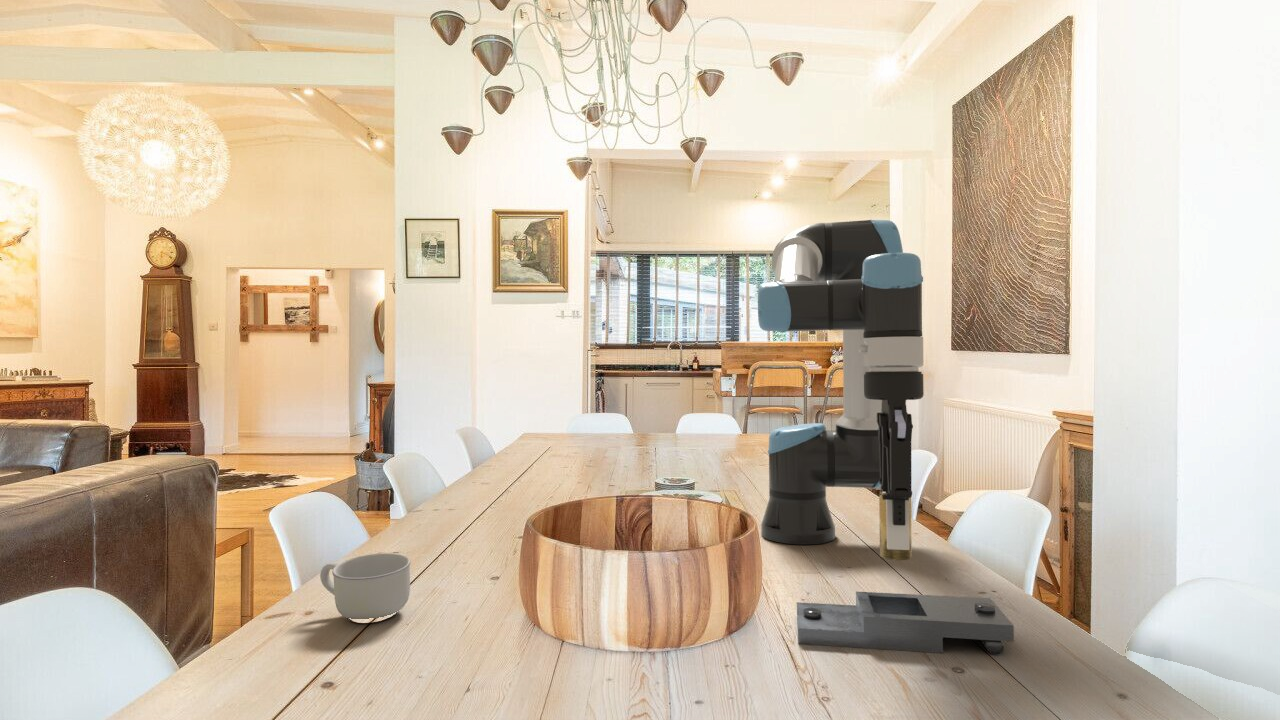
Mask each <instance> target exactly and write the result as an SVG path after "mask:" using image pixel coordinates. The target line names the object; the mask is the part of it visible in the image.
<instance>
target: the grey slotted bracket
mask: <svg viewBox="0 0 1280 720" xmlns="http://www.w3.org/2000/svg"><path fill="white" fill-rule="evenodd" d="M796 623H797V624H796V625H797V626H796V627H797V644H798V645H800V644H801V645H814V646H815V645H816V646H829V647H830V646H831V647H843V648H844V647H845V648H857V649H858V648H861V649H875V650H891V651H903V652H904V651H905V652H918V653H919V652H921V653H922V652H923V653H936V654H937V653H938V654H943V653H944V646H943V645H944V643H943V639H944V638H951V639H967V640H980V641H981V643H982V644H983V645H984V647H985V648H986V650H987V651H988V653H989V654H991V655H994V656H999V655H1002V653H1003V652H1004V650H1005V646H1004V643H1003V642H1015V625H1014V623H1012V622H1011V620H1010V619H1009V617H1007V616H1006V615H1005V613H1004V612H1003V611H1002V610H1001V609H1000V607H999V606H998V605H997V604H996V603H995V602H994V601H993V600H992V598H989V597H971V596H954V595H953V596H952V595H951V596H950V595H934V594H933V595H932V594H929V595H928V594H915V593H914V594H911V593H893V592H891V593H890V592H877V591H876V592H872V591H855V605H853V604H851V605H850V604H837V603H835V604H834V603H833V604H832V603H817V602H815V603H813V602H801V601H800V602H797V601H796Z"/></svg>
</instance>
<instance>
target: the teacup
mask: <svg viewBox="0 0 1280 720" xmlns="http://www.w3.org/2000/svg"><path fill="white" fill-rule="evenodd" d="M410 566H411V559H410V557H408V556H407V555H404V554H400V553H395V552H394V553H392V552H388V553H387V552H383V553H380V552H378V553H370V554H363V555H359V556H355V557H352V558H349V559H346V560H344V561H341V562H337V561H331V562H328V563H326V564H325V565H324V566H323V567H322V568H321V571H320V575H319V576H320V581H321V584H322V586H323V587H324V589H326V590H327V591H328V592H329V593H330V594H331V595H333V596H334V603H335V607H336V610H337V612H338V613H339V614H340V615H341V616H342V617H344V618H345V617H346V619H347V618H351V619H369V618H379V617H384V616H387V615H391V614H393V613H395V612H397V611H398V612H400V611H401V609H403V608H404V607H405V605H406V604H407V603H408V601H409V598H410V593H411V592H410V590H411V570H410V569H411V567H410ZM331 570H332V576H333V580H332V578H331V577H330V571H331Z"/></svg>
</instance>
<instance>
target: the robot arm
mask: <svg viewBox="0 0 1280 720" xmlns="http://www.w3.org/2000/svg"><path fill="white" fill-rule="evenodd" d="M903 250H904V249H903V244H902V239H901V234H900V231H899V229H898V226H897V225H896V224H895V222H893V221H892V220H889V219H886V220H885V219H867V220H866V219H865V220H852V221H851V220H849V221H835V222H818V223H812V224H807V225H805V226H802V227H799V228H797V229H795V230H793V231H792V232H790V233H788V234H787V235H785V236H784V237H783V238H782V239H781V240H780V241H779V242H778V243H777V244H776V246H775V248H774V250H773V252H772V256H771V269H772V271H773V274H774V280H773V282H765V283H761V284H760V285H759V287H758V289H757V317H758V318H757V319H758V320H757V321H758V325H759V328H760V329H761V330H763V331H765V332H780V333H786V332H811V331H812V332H813V331H842V365H843V366H842V368H843V371H842V375H843V376H842V377H843V378H842V380H843V381H842V382H843V383H842V388H843V390H842V391H843V392H842V393H843V394H842V395H843V399H842V400H843V412H842V415H841V416H840V417H839V418H838V419H837V420H836V421H835V429H833V430H826V429H827V428H826V426H825V424H824V423H822V422H821V423H820V422H819V423H816V422H814V423H802V424H800V423H799V424H794V425H786V426H782V427H779V428H776V429H773V430H772V431H771V432H770V434H769V437H768V450H767V454H768V469H769V470H768V478H769V479H768V481H769V482H768V487H769V489H768V497H769V498H768V501H767V505H766V509H765V512H764V515H763V517H762V521H761V525H760V526H761V529H760V530H761V531H760V532H761V536H762V537H763V538H765V539H766V540H769V541H771V542H776V543H781V544H789V545H819V544H825V543H826V544H827V543H829V542H832V541H833V540H835V538H836V527H835V523H834V519H833V517H832V514H831V511H830V507H829V504H828V503H827V487H828V488H829V487H830V488H831V487H832V488H859V489H861V488H862V489H864V488H865V489H866V488H869V489H871V490H874V489H881V491H882V492H881V494H886V493H887V495H882V499H883V500H886V525H887V549H896V550H909V498H911V499H912V496H913V491H912V435H913V429H914V425H913V420H912V414H911V413H908V411H907V401H909V400H910V401H911V400H912V401H915V400H921V399H922V398H923V397H924V392H925V391H924V373H922V371H919V369H920V368H921V367H923V366H924V336H923V307H922V306H923V282H924V276H922V275H923V274H922V261H921V259H920V257H919V256H918V255H917V254H914V253H912V252H911V253H910V252H903Z"/></svg>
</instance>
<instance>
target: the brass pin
mask: <svg viewBox="0 0 1280 720" xmlns="http://www.w3.org/2000/svg"><path fill="white" fill-rule="evenodd" d="M885 493H886V492H885ZM878 495H879V496H878V497H879V501H878V504H879V505H878V507H879V513H878V514H879V556H880V557H882V558H884V559H887V560H893V561H905V560H906V561H908V560H911V559H912V553H913V551H912V497H911V498H909V550H896V549H887V525H886V500H883V499H882V495H887V493H886V494H882V493H880V494H878Z"/></svg>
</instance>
